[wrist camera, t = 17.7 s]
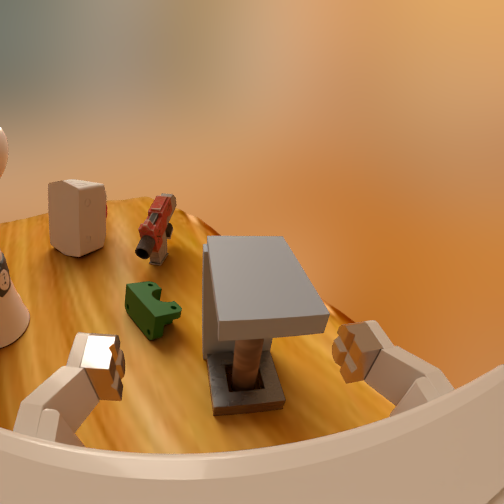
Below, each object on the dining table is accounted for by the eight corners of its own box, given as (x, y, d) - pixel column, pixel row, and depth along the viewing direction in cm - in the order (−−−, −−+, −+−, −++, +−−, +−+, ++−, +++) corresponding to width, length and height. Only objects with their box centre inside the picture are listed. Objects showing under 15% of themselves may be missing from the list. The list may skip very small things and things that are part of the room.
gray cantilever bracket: (212, 433, 34) (213, 321, 24) (202, 350, 48) (203, 235, 38) (291, 424, 36) (334, 313, 26) (266, 347, 50) (286, 236, 40)
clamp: (171, 344, 54) (189, 318, 49) (144, 351, 49) (159, 325, 44) (146, 294, 59) (160, 266, 54) (120, 298, 54) (132, 268, 50)
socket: (213, 415, 37) (213, 407, 35) (207, 363, 45) (207, 353, 44) (282, 408, 39) (285, 400, 37) (267, 360, 47) (269, 350, 46)
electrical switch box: (117, 246, 80) (119, 176, 73) (80, 261, 66) (78, 183, 59) (86, 235, 83) (86, 172, 77) (50, 248, 70) (48, 178, 63)
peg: (232, 397, 40) (238, 343, 34) (229, 378, 43) (234, 322, 37) (256, 395, 41) (267, 341, 35) (252, 377, 44) (261, 321, 38)
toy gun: (143, 281, 68) (128, 236, 57) (167, 225, 82) (160, 181, 71) (158, 284, 68) (146, 239, 57) (180, 227, 82) (175, 182, 71)
